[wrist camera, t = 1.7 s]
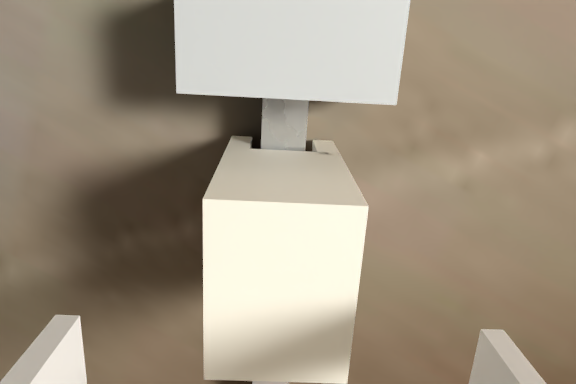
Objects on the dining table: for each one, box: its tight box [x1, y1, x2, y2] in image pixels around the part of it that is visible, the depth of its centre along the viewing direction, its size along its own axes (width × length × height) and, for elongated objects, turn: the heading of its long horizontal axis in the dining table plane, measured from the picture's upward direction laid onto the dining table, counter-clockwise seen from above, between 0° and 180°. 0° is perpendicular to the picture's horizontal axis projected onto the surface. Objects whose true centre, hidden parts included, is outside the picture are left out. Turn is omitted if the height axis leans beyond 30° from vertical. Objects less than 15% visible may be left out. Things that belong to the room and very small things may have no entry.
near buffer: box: [174, 0, 410, 105], centre depth 22 cm, size 5×10×6 cm, turn 87°
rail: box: [252, 98, 309, 384], centre depth 29 cm, size 26×2×3 cm, turn 177°
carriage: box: [203, 136, 369, 384], centre depth 23 cm, size 8×6×11 cm
